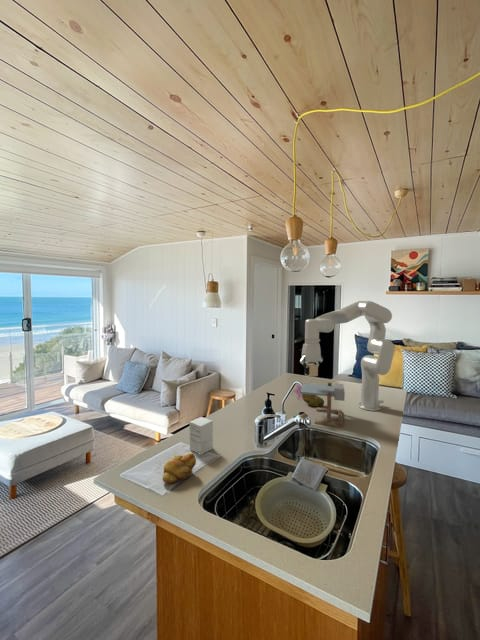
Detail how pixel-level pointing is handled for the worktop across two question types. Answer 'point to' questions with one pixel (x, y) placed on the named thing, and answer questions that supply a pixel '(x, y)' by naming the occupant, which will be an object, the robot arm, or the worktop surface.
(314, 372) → the tan block
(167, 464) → the bread roll
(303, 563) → the worktop surface
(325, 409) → the stand
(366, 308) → the robot arm
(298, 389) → the lily
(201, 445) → the supplement box
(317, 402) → the potato
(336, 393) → the trapdoor
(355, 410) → the worktop surface
